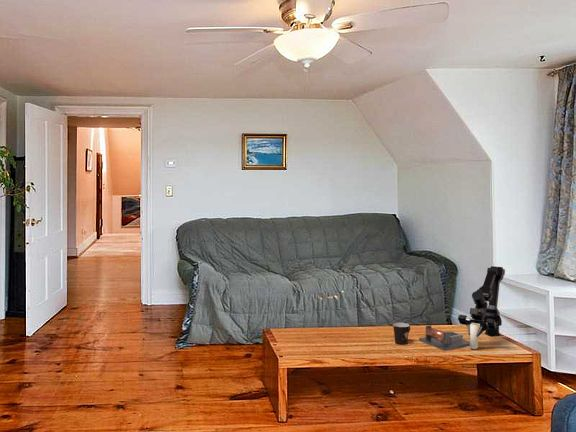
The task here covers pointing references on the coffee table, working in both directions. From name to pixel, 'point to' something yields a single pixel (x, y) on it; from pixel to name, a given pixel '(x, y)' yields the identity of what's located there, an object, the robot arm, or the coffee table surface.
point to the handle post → (473, 336)
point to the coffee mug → (401, 333)
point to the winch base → (444, 339)
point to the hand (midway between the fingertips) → (473, 335)
